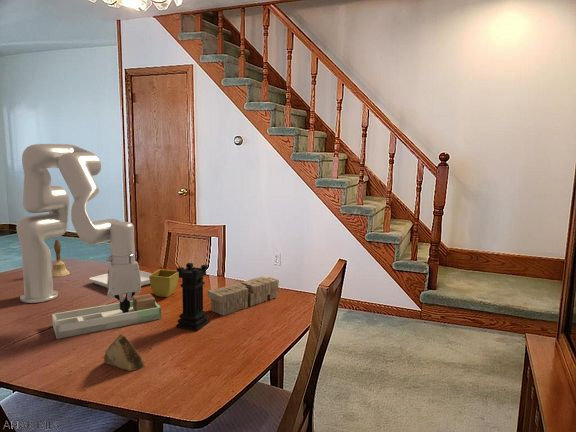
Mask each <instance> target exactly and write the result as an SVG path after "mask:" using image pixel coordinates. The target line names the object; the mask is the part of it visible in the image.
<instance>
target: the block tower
mask: <svg viewBox="0 0 576 432" xmlns="http://www.w3.org/2000/svg"><path fill="white" fill-rule="evenodd" d="M279 280H280V279H278V278H274V277H271V276H269V277H265V276H263V275H262V276H260V277H259V276H258V277H254V278H251V279H248V280H244V281H241V283H239V282H236V283H233V284H229V285H226V286H222V287H219V288H216V289H213V290H212V289H208V290H207V298H209V299H210V311H212V312H213V313H216V314H218V315H220V316H227V314H228V315H230V314H234V313H236V312H239V311H241V309H242V310H244V309H248V308H249V307H253V306H256V305H255V304H257V305H259V304H262V303H261V302H263V303H265V302H264V301H266V302H268V300H269V299H272V300H274V299H273V298H275V299H277V297H279V285H280V284H279V282H280V281H279ZM258 303H259V304H258ZM248 305H249V306H248ZM252 305H253V306H252ZM247 307H248V308H247ZM238 310H239V311H238Z"/></svg>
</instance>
